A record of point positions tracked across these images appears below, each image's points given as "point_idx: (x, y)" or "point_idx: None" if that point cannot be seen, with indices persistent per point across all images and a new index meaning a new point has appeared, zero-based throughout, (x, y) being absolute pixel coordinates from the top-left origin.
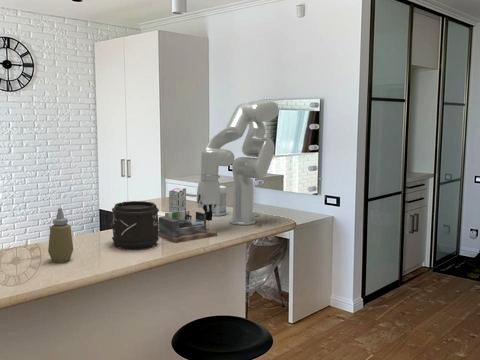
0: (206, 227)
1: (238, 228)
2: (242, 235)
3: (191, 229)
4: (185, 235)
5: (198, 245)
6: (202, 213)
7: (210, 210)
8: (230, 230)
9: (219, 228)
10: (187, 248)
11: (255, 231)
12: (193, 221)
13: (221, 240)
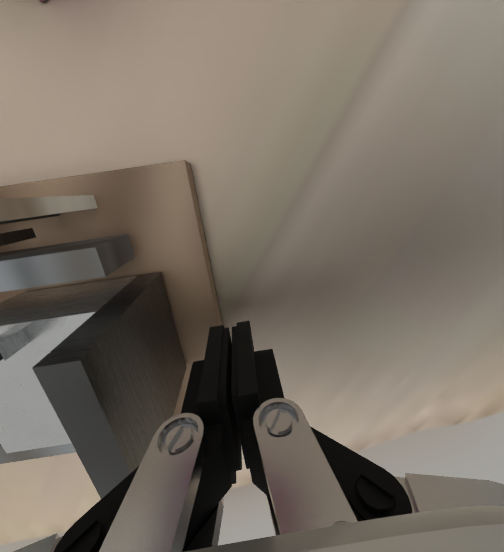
0: None
1: (469, 299)
2: (364, 434)
3: None
4: None
5: (71, 504)
6: (108, 479)
7: (255, 474)
8: (387, 325)
9: (362, 246)
10: (6, 524)
11: (485, 393)
12: (34, 414)
13: None
